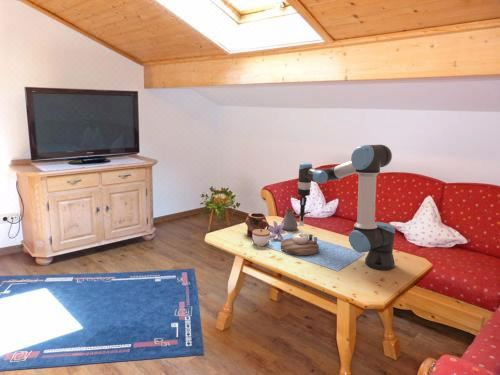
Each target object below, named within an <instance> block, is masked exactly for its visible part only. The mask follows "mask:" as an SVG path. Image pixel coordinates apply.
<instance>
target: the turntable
mask: <svg viewBox="0 0 500 375" xmlns="http://www.w3.org/2000/svg"><path fill="white" fill-rule="evenodd" d="M317 241H318V237H316V236H314V238H313V239H312V240H309V238H308V243H306V244H297V243H294V242H293V237H290V238H286V239H283V241H280V249H281V250H282V251H283V252H285V253H288V254H291V255H295V256H296V255H298V256H310V255H313V254H314V255H315V254H316V253H318V252H319V244H318V242H317Z"/></svg>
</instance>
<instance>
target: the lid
mask: <svg viewBox="0 0 500 375" xmlns="http://www.w3.org/2000/svg"><path fill="white" fill-rule="evenodd" d="M292 238H293V242H294V243H297V244H306V243H308V239H309V235H308V234H306V233H303V232H298V233H294V234H292Z"/></svg>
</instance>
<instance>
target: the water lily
mask: <svg viewBox="0 0 500 375" xmlns="http://www.w3.org/2000/svg"><path fill="white" fill-rule="evenodd" d="M283 226H284V222H283V223H282V222H281V223H280V224H279V225H278V222H277V221H276V220H274V221H273V225H270V224H269V229H268V231H270V238H269V240H273V239H275V238H276V237H277V239H278V240H280V242H282V241H283V240H284V237H283V235H285V234H287V233H288V230H282V229H283Z"/></svg>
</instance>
